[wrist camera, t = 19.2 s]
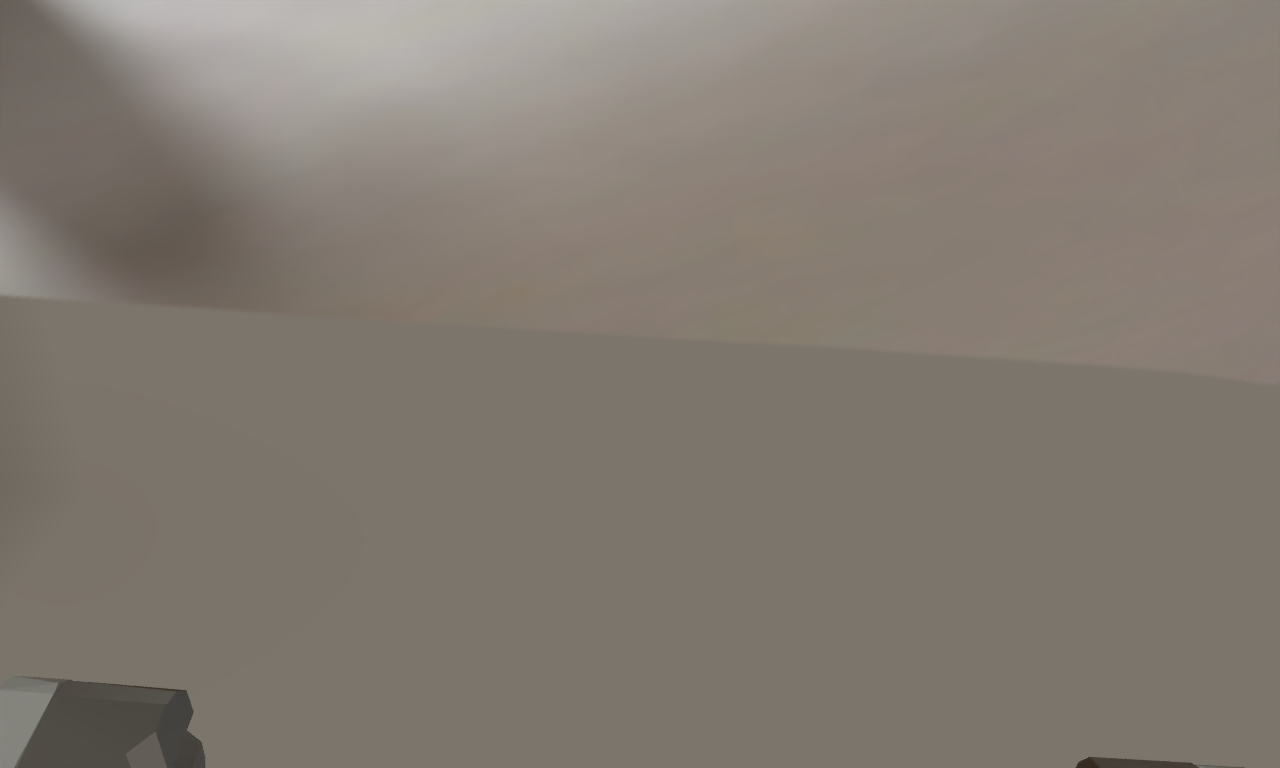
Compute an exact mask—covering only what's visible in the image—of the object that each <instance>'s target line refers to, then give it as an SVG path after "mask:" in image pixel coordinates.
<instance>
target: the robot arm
mask: <svg viewBox="0 0 1280 768" xmlns="http://www.w3.org/2000/svg"><path fill="white" fill-rule="evenodd" d="M192 715H193V709H192V706H191V703H190V700H189V697H188V694H187V691H186V690H178V689H166V688H154V687H142V686H130V685H117V684H106V683H94V682H83V681H82V682H81V681H73V680H69V679H55V678H40V677H25V676H10V677H8V678H7V679H6V680H5V681H4V682H3V684H1V685H0V768H205V755H204V751H203V746H202V743H201V741H200V740H198V739H197V738H196V737H195V736H193V735H192V734H191V733H189V732H188V731H187V728H188V726H189V723H190V720H191V718H192ZM1076 768H1243V767H1227V766H1209V765H1194V764H1192V763H1187V762H1169V761H1151V760H1135V759H1117V758H1100V757H1088V758H1086V759H1084V760H1082V761H1080V762H1079V763H1078V764H1077V766H1076Z"/></svg>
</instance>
